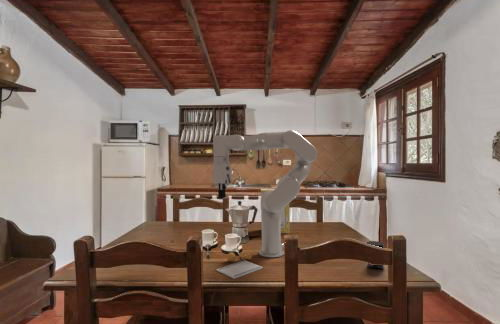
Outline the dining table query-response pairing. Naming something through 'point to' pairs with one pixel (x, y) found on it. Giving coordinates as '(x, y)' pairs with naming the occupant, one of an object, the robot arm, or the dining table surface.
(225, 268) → the mat
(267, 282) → the dining table surface
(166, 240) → the dining table surface
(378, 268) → the supplement container
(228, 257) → the figurine
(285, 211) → the pasta box
